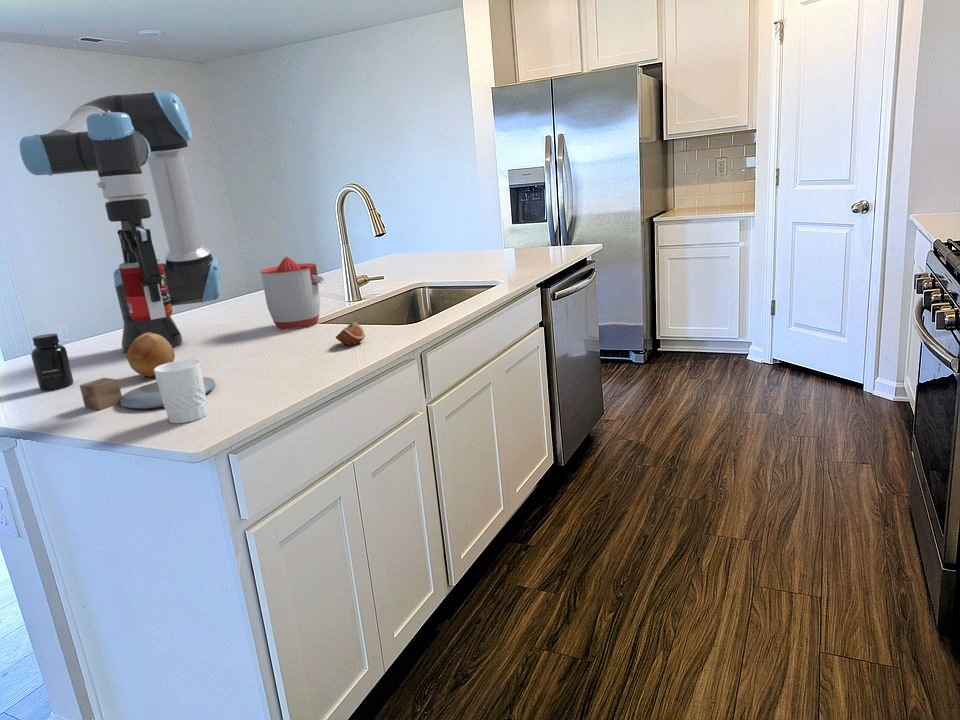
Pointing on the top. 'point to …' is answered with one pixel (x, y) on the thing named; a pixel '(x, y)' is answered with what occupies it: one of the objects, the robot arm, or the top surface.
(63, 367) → the supplement bottle
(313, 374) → the top surface
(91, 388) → the walnut block
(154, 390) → the plate
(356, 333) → the fruit slice
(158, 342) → the onion
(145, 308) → the canned food
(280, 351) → the top surface
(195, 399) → the white cup
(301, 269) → the citrus juicer
